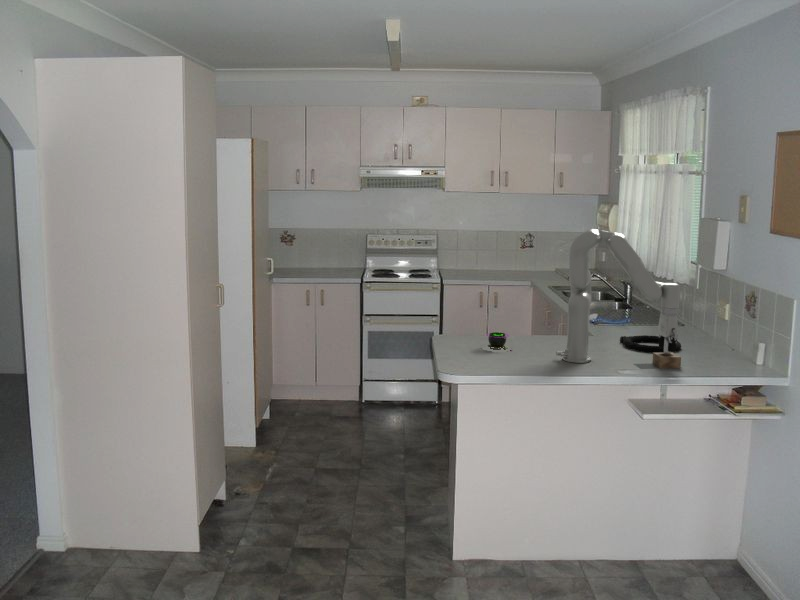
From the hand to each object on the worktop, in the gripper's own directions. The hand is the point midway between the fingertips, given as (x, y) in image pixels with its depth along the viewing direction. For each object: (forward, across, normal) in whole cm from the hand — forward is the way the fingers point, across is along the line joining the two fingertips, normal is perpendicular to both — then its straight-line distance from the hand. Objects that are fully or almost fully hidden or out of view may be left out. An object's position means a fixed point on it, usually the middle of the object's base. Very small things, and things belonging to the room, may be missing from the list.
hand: (666, 349), depth 348 cm
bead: (+8, 0, 0) cm, 8 cm away
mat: (+8, 0, -4) cm, 9 cm away
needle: (+8, 0, 0) cm, 8 cm away
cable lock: (+9, -40, +9) cm, 42 cm away
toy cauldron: (+9, -40, -68) cm, 79 cm away
